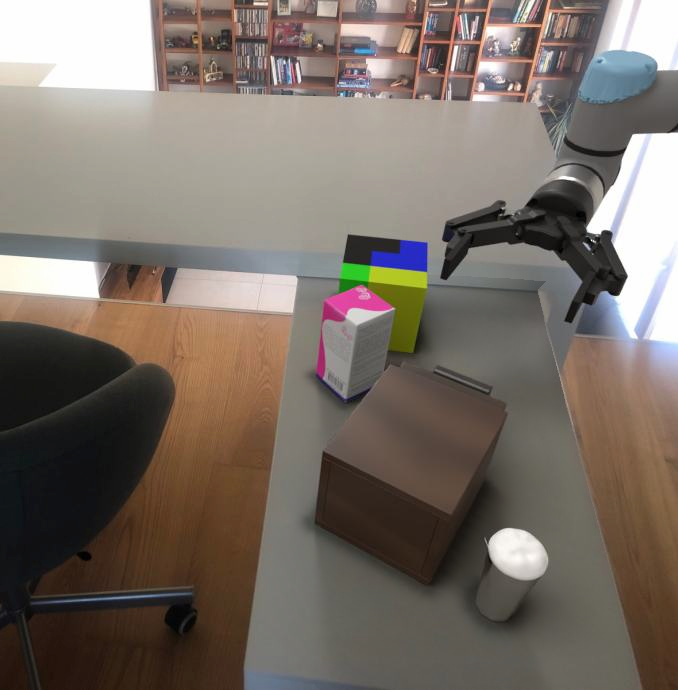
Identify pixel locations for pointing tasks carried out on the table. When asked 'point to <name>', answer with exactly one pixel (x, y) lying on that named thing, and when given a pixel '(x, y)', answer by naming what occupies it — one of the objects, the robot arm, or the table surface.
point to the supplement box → (354, 342)
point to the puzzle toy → (390, 280)
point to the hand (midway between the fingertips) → (505, 290)
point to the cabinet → (406, 470)
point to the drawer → (457, 383)
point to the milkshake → (509, 572)
